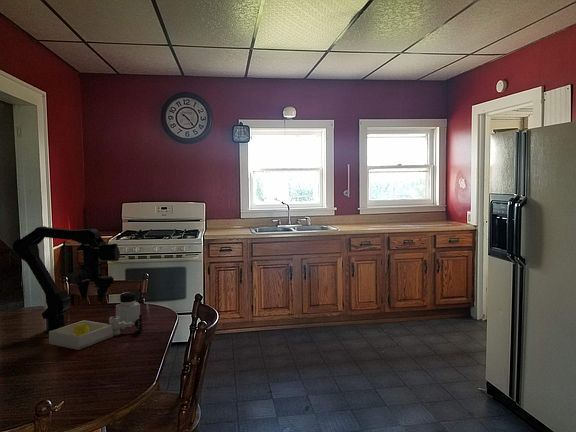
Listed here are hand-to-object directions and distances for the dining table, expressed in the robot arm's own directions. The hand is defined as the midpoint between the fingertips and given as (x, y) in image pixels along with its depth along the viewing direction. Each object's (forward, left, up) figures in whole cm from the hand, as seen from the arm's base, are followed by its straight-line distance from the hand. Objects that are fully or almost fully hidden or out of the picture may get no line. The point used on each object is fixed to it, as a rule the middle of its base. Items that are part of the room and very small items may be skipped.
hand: (92, 300), depth 171 cm
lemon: (+5, -10, -11) cm, 16 cm away
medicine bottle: (+3, +16, -12) cm, 20 cm away
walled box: (+5, -9, -12) cm, 16 cm away
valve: (+14, +3, -12) cm, 19 cm away
